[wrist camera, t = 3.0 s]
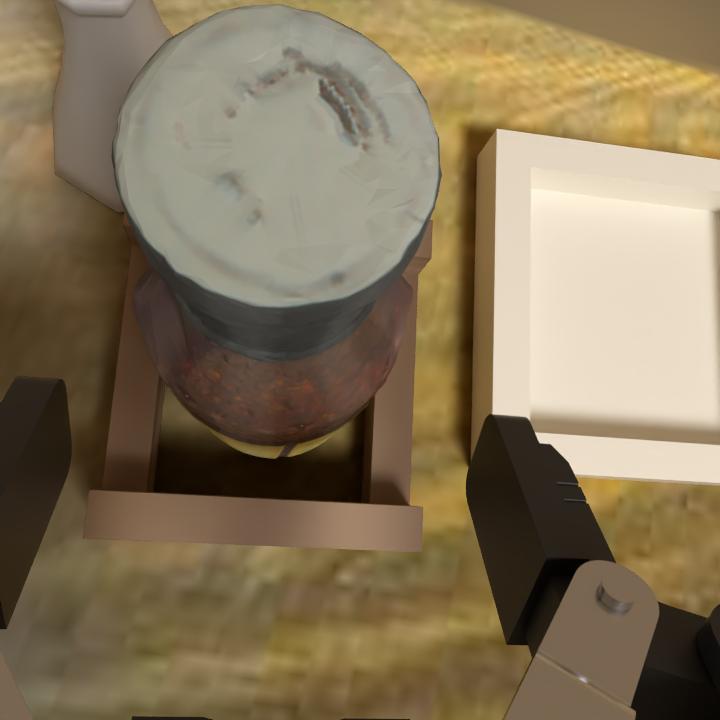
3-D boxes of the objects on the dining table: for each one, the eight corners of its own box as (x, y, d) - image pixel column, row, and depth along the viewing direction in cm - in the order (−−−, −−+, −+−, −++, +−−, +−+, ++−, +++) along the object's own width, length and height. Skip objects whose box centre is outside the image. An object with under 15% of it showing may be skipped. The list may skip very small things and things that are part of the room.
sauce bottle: (343, 304, 29) (546, -73, 9) (355, 455, 28) (612, 379, 8) (181, 310, 27) (34, -107, 8) (187, 468, 26) (34, 413, 7)
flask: (80, 36, 29) (-3, -191, 19) (248, 85, 30) (250, -110, 20) (27, 191, 27) (-92, 28, 18) (206, 237, 28) (186, 107, 19)
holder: (107, 530, 26) (82, 538, 22) (144, 227, 28) (127, 184, 24) (396, 543, 27) (421, 552, 23) (407, 255, 29) (432, 220, 26)
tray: (470, 471, 28) (491, 469, 26) (476, 157, 31) (496, 128, 28) (754, 487, 30) (799, 487, 28) (736, 191, 33) (776, 167, 30)
